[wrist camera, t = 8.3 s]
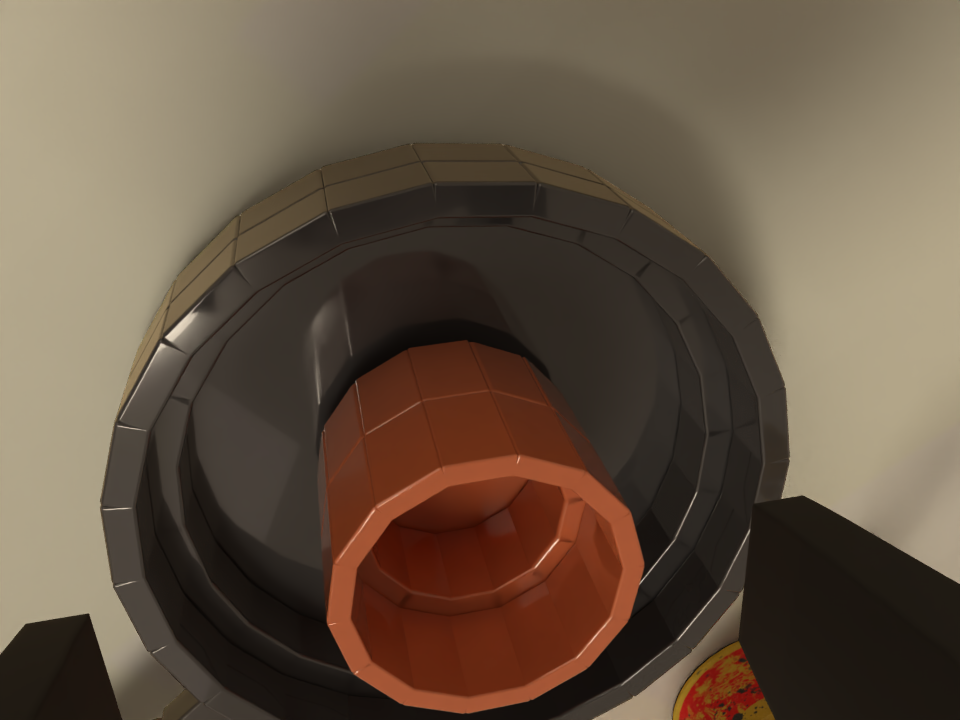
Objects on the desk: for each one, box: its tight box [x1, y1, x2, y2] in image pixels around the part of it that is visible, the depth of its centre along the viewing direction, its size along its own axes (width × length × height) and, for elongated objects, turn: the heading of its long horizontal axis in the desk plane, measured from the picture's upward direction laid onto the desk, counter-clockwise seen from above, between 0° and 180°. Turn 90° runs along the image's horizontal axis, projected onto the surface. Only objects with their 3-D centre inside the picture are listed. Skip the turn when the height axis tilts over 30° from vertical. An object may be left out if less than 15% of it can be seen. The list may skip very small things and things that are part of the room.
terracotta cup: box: [317, 340, 644, 714], centre depth 17 cm, size 5×5×5 cm
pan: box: [100, 143, 790, 720], centre depth 18 cm, size 13×13×3 cm
